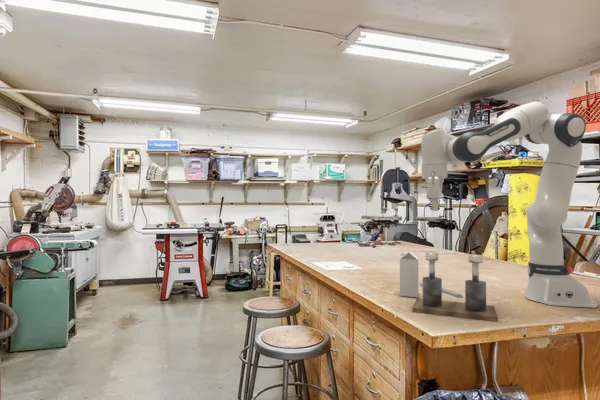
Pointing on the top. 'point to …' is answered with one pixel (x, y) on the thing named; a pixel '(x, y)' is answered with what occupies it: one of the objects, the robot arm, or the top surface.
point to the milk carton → (409, 274)
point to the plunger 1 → (431, 262)
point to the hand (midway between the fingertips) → (435, 210)
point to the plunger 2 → (475, 265)
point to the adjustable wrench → (448, 292)
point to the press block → (469, 309)
